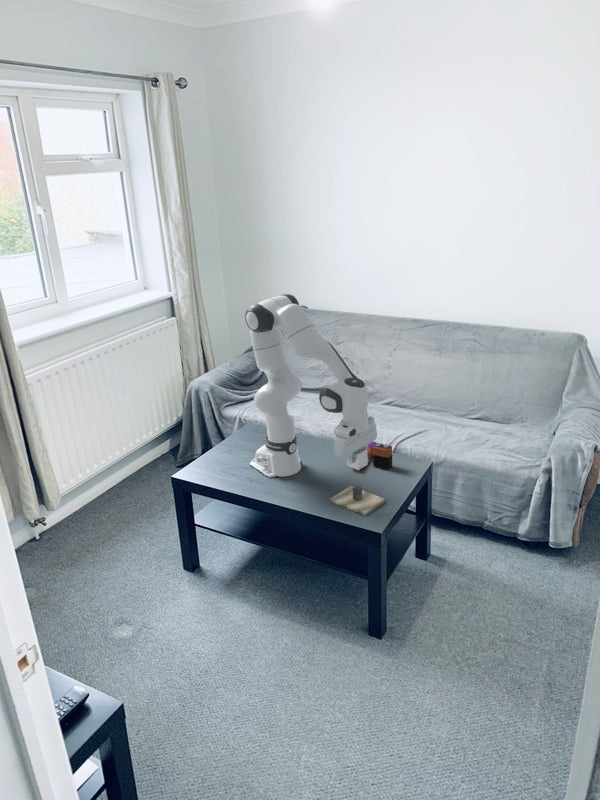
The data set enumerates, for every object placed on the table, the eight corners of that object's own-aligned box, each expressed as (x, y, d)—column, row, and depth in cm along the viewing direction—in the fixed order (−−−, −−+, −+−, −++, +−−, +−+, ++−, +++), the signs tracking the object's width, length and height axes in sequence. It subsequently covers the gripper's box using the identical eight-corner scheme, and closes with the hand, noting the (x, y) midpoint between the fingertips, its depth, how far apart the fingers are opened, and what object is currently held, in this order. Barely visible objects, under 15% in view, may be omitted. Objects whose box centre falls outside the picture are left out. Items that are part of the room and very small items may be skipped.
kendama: (347, 461, 248) (367, 439, 263) (351, 474, 250) (370, 451, 265) (361, 462, 245) (379, 438, 260) (364, 475, 247) (382, 451, 262)
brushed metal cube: (347, 465, 220) (346, 450, 218) (356, 460, 224) (355, 445, 222) (358, 469, 217) (358, 454, 215) (367, 464, 221) (367, 449, 218)
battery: (388, 470, 247) (387, 448, 244) (372, 466, 251) (372, 444, 247) (392, 466, 251) (392, 443, 247) (377, 462, 254) (377, 440, 251)
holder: (330, 501, 227) (329, 487, 225) (350, 488, 235) (350, 475, 233) (365, 515, 217) (364, 501, 215) (385, 501, 225) (385, 488, 223)
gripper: (366, 412, 224) (367, 446, 229) (330, 431, 210) (332, 467, 215) (380, 416, 220) (381, 451, 225) (344, 435, 206) (346, 472, 211)
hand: (356, 459), depth 220 cm, fingers closed on brushed metal cube, 5 cm apart
